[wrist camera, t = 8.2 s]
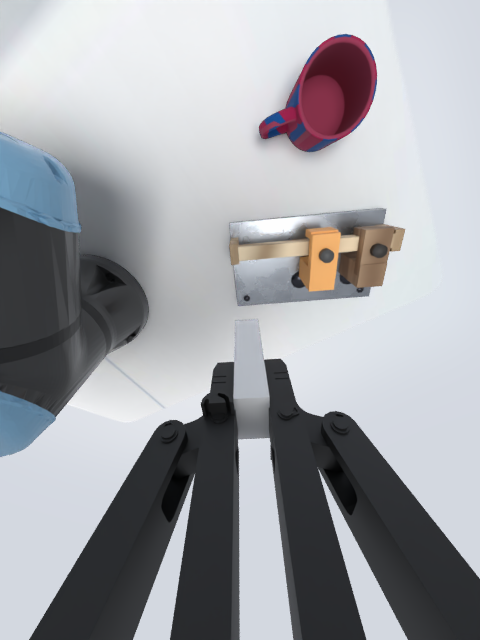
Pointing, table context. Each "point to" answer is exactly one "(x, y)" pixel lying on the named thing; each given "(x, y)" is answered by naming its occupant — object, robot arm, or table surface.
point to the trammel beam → (354, 266)
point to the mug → (327, 95)
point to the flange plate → (283, 273)
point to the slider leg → (320, 259)
